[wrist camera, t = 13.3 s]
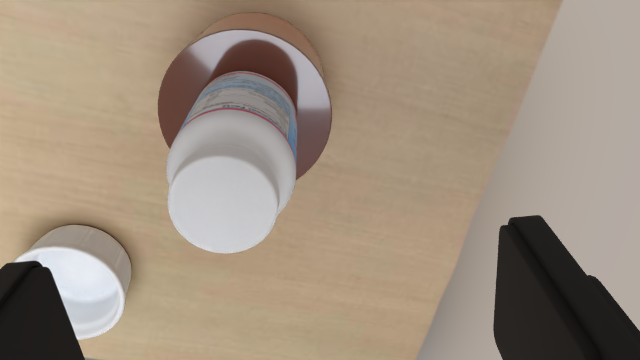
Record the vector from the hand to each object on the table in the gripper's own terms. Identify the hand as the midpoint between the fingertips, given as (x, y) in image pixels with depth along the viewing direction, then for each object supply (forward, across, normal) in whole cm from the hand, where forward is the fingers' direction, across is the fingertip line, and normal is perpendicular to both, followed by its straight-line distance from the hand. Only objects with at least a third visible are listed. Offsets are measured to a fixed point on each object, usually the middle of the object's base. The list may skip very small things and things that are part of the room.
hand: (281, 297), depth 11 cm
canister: (+29, +4, +3) cm, 29 cm away
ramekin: (+29, +20, +17) cm, 39 cm away
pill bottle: (+22, +4, +4) cm, 23 cm away
